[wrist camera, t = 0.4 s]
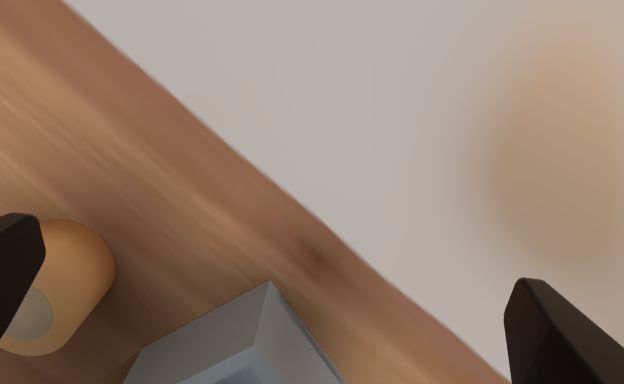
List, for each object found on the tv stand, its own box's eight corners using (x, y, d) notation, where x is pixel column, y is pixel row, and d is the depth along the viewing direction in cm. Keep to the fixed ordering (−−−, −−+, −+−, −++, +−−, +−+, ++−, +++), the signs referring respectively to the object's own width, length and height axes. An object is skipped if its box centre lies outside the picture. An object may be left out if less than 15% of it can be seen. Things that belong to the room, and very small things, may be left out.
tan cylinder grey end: (66, 317, 28) (17, 372, 24) (1, 247, 27) (-62, 294, 22) (134, 277, 27) (97, 328, 23) (71, 202, 26) (18, 241, 21)
